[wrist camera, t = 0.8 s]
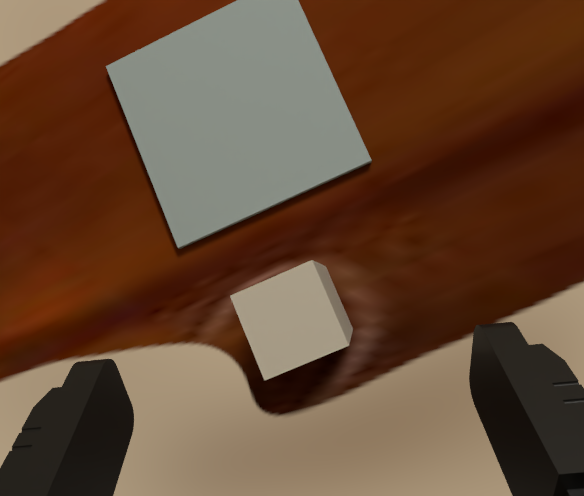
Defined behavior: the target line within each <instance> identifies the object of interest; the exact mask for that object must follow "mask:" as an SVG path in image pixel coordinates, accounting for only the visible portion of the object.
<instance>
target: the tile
mask: <svg viewBox="0 0 584 496" xmlns="http://www.w3.org/2000/svg"><path fill="white" fill-rule="evenodd" d="M106 68H107V71H108V73H109V76H110V78H111V81H112V83H113V86H114V88H115V91H116V93H117V96H118V98H119V101H120V103H121V106H122V108H123V111H124V113H125V116H126V119H127V121H128V124H129V126H130V129H131V131H132V134H133V136H134V139H135V141H136V144H137V146H138V149H139V151H140V154H141V156H142V159H143V161H144V164H145V166H146V169H147V172H148V174H149V177H150V179H151V182H152V184H153V187H154V189H155V192H156V194H157V197H158V199H159V202H160V204H161V207H162V209H163V212H164V214H165V217H166V219H167V222H168V225H169V227H170V230H171V232H172V235H173V237H174V240H175V242H176V245H177V247H178V248H180V249H181V248H183V247H185V246H188V245H190V244H192V243H194V242H196V241H199V240H201V239H203V238H205V237H207V236H210V235H212V234H214V233H216V232H218V231H221V230H223V229H225V228H227V227H230V226H232V225H234V224H236V223H238V222H241V221H243V220H245V219H247V218H249V217H252V216H254V215H256V214H258V213H260V212H263V211H265V210H267V209H269V208H271V207H274V206H276V205H278V204H280V203H283V202H285V201H287V200H289V199H291V198H294V197H296V196H298V195H300V194H302V193H305V192H307V191H309V190H311V189H313V188H316V187H318V186H320V185H322V184H325V183H327V182H329V181H331V180H333V179H336V178H338V177H340V176H342V175H344V174H347V173H349V172H351V171H353V170H355V169H358V168H360V167H362V166H364V165H366V164H369V163H371V158H370V156H369V154H368V152H367V150H366V147H365V145H364V143H363V141H362V139H361V136H360V134H359V132H358V130H357V128H356V126H355V123H354V121H353V119H352V117H351V115H350V112H349V110H348V108H347V106H346V104H345V102H344V99H343V97H342V95H341V93H340V91H339V88H338V86H337V84H336V82H335V80H334V78H333V75H332V73H331V71H330V69H329V67H328V64H327V62H326V60H325V58H324V56H323V54H322V51H321V49H320V47H319V45H318V43H317V40H316V38H315V36H314V34H313V32H312V30H311V27H310V25H309V23H308V21H307V19H306V16H305V14H304V12H303V10H302V8H301V6H300V3H299V1H298V0H237V1H235V2H233V3H231V4H229V5H227V6H225V7H223V8H221V9H219V10H217V11H215V12H213V13H211V14H209V15H207V16H205V17H203V18H201V19H199V20H197V21H195V22H193V23H191V24H189V25H187V26H185V27H183V28H181V29H179V30H177V31H175V32H173V33H171V34H169V35H167V36H165V37H163V38H161V39H159V40H157V41H155V42H153V43H151V44H149V45H148V46H146V47H144V48H142V49H140V50H138V51H136V52H134V53H132V54H130V55H128V56H126V57H124V58H122V59H120V60H118V61H116V62H114V63H112V64H110V65H108V66H106Z"/></svg>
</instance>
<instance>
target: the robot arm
mask: <svg viewBox="0 0 584 496" xmlns="http://www.w3.org/2000/svg"><path fill="white" fill-rule="evenodd" d="M469 380H470V389H471V395H472V398H473V402H474V405H475V407H476V410H477V412H478V414H479V417H480V419H481V422H482V424H483V426H484V428H485V431H486V433H487V436H488V438H489V441H490V443H491V445H492V448H493V450H494V452H495V455H496V457H497V460H498V462H499V464H500V467H501V469H502V472H503V474H504V476H505V479H506V480H507V483H508V486H509V488H510V491H511V493H512V495H513V496H584V388H583V387H582V385H579V383H578V379H577V378H576V377H575V375H574V374H573V372H572V371H571V369H570V368H569V366H568V365H567V363H566V362H565V360H563V359H562V358H561V357H559V356H558V355H557V354H555V353H554V352H553V351H551V350H550V349H549V348H547V347H546V346H545V345H543V344H535V345H528V344H527V342H526V340H525V339H524V337H523V335H522V334H521V332H520V330H519V329H518V327H517V326H516V325H515V324H514V323H512V322H506V323H495V324H485V325H477V326H476V327H475V329H474V335H473V345H472V355H471V366H470V376H469ZM133 426H134V413H133V407H132V404H131V401H130V399H129V396H128V394H127V391H126V389H125V386H124V384H123V381H122V379H121V376H120V373H119V371H118V368H117V366H116V364H115V362H114V361H113V360H112V359H103V360H93V361H82V362H77V363H75V364H74V365H73V366H72V368H71V370H70V372H69V374H68V376H67V378H66V380H65V382H64V384H63V386H62V387H58V388H52V389H51V390H50V391H49V392H48V393H47V394H46V395H45V396H44V397H43V398H42V399H41V400H40V401H39V402H38V403H37V404H36V405H35V406H34V407H33V409H32V411H31V413H30V415H29V416H28V418H27V420H26V422H25V424H24V426H23V427H22V433H19V435H18V437H17V438H16V441H15V442H14V444H13V446H12V451H10V452H9V453H8V455H7V457H6V459H5V460H4V462H3V464H2V466H1V468H0V496H113V494H114V491H115V487H116V484H117V481H118V478H119V474H120V471H121V468H122V465H123V461H124V458H125V455H126V452H127V449H128V445H129V442H130V439H131V436H132V432H133Z"/></svg>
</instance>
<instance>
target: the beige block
mask: <svg viewBox="0 0 584 496" xmlns="http://www.w3.org/2000/svg"><path fill="white" fill-rule="evenodd" d="M230 297H231V299H232V302H233V304H234V307H235V309H236V312H237V314H238V317H239V319H240V322H241V324H242V327H243V329H244V332H245V334H246V336H247V339H248V341H249V344H250V346H251V349H252V351H253V354H254V356H255V359H256V361H257V364H258V366H259V369H260V371H261V373H262V376H263V378H264V381H265V380H267V379H270V378H272V377H275V376H277V375H279V374H282V373H284V372H287V371H289V370H291V369H294V368H296V367H299V366H301V365H304V364H306V363H308V362H311V361H313V360H316V359H318V358H320V357H323V356H325V355H328V354H330V353H332V352H335V351H337V350H340V349H342V348H344V347H347V346H349V343H350V339H351V335H352V331H353V328H352V326H351V324H350V321H349V319H348V317H347V314H346V312H345V310H344V307H343V305H342V303H341V301H340V298H339V296H338V294H337V291H336V289H335V287H334V284H333V282H332V280H331V277H330V275H329V273H328V271H327V268H326V266H324V265H322V264H319V263H317V262H315V261H313V260H311V261H309V262H306V263H304V264H302V265H300V266H297V267H295V268H293V269H290V270H288V271H286V272H284V273H281V274H279V275H277V276H274V277H272V278H270V279H268V280H265V281H263V282H261V283H258V284H256V285H254V286H252V287H249V288H247V289H245V290H242V291H240V292H238V293H235V294H233V295H231V296H230Z"/></svg>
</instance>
